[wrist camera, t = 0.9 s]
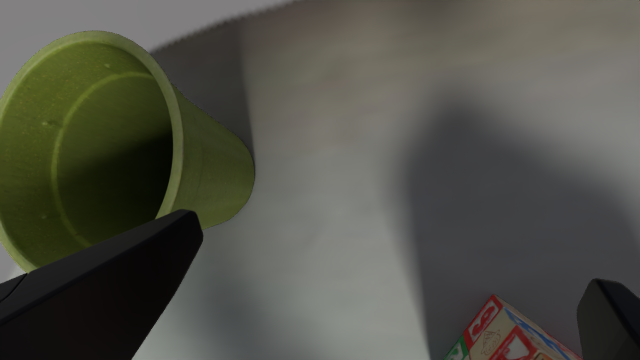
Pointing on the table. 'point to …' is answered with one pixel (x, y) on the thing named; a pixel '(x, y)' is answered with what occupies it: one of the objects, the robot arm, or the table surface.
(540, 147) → the table surface
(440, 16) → the table surface
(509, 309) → the stack of blocks
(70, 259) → the robot arm
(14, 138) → the plant pot
